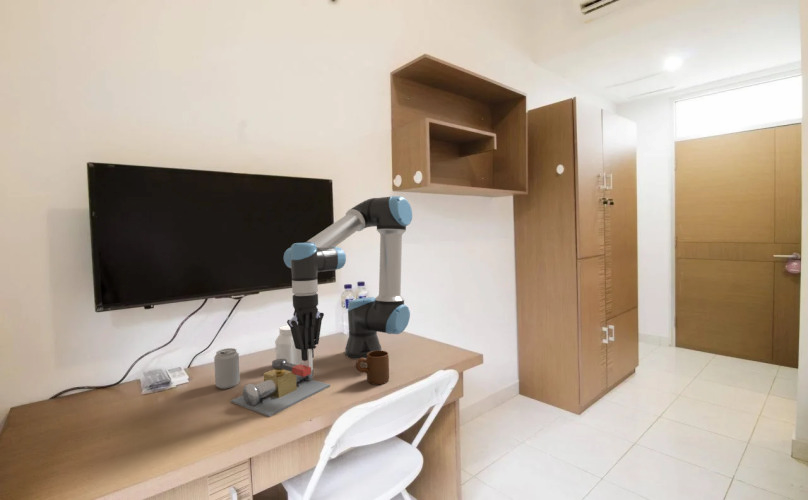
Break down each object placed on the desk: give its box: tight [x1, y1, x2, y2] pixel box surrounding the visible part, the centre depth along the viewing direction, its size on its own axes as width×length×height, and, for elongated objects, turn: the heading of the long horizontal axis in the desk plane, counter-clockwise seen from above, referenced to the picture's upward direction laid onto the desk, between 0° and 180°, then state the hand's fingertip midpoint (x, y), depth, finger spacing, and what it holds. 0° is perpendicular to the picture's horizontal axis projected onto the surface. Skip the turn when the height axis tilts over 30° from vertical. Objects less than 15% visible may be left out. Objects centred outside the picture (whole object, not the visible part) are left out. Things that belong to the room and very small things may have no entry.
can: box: [213, 348, 241, 390], centre depth 129 cm, size 8×8×12 cm
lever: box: [271, 358, 311, 377], centre depth 119 cm, size 15×4×2 cm, turn 55°
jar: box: [274, 324, 303, 365], centre depth 147 cm, size 12×10×15 cm
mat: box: [230, 378, 331, 418], centre depth 122 cm, size 24×18×1 cm
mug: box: [355, 350, 390, 386], centre depth 129 cm, size 12×8×9 cm, turn 121°
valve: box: [242, 363, 314, 406], centre depth 122 cm, size 22×7×8 cm, turn 147°
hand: (308, 369), depth 117 cm, fingers closed
